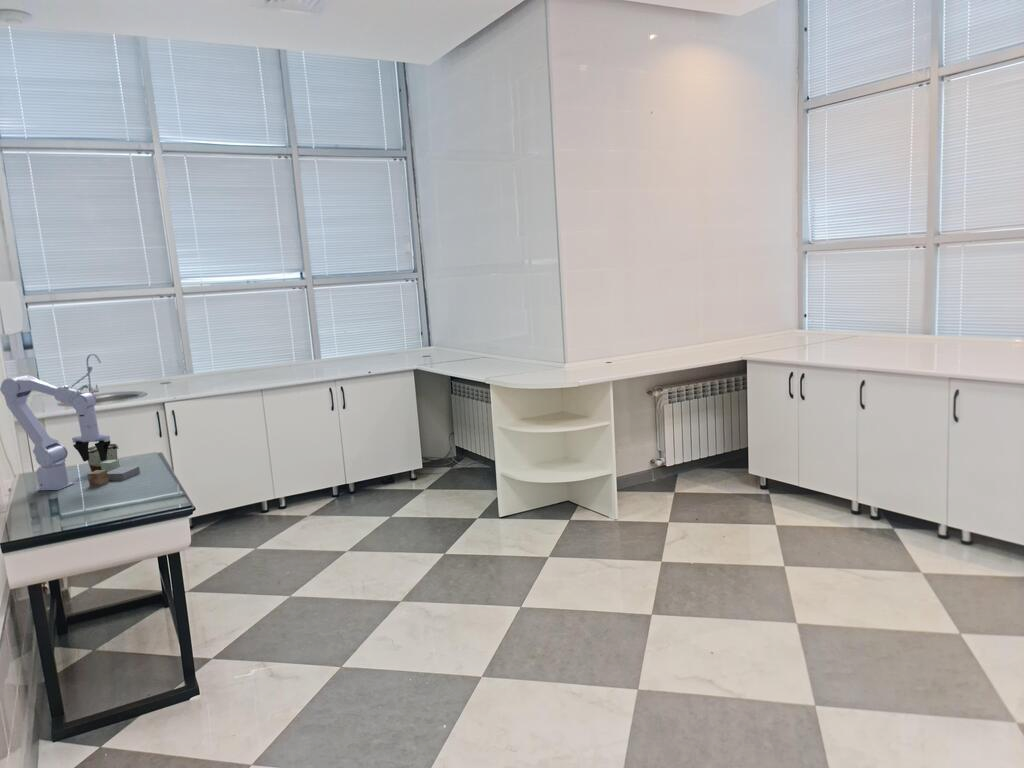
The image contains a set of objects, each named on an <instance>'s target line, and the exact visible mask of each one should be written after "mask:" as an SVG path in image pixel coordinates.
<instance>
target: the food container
mask: <svg viewBox="0 0 1024 768" xmlns="http://www.w3.org/2000/svg"><path fill="white" fill-rule="evenodd" d="M118 450H119V446H118V445H117V443H110V445H109V447H108V451H107V459H106V460H104V461H101V460H100V456H99V452H98V450H97V448H96V446H95V445H94V446H90V447H88V452H89V460H88V461H87V463H88V465H89V469H90V473H91V472H93V471H96V470H102V469H101V464H100V463H102V462H105V461H107V460H118Z"/></svg>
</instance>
